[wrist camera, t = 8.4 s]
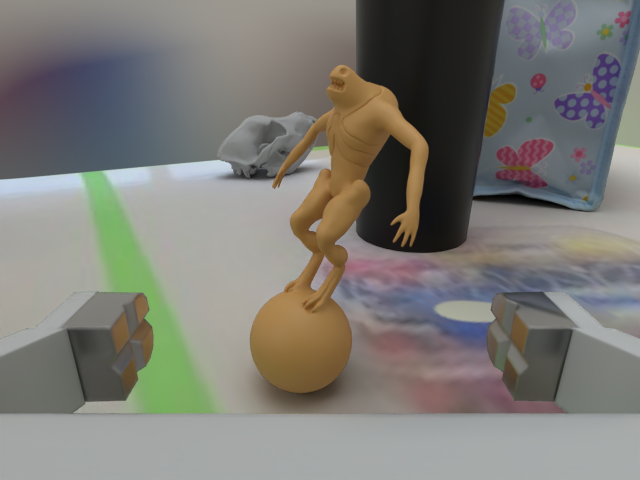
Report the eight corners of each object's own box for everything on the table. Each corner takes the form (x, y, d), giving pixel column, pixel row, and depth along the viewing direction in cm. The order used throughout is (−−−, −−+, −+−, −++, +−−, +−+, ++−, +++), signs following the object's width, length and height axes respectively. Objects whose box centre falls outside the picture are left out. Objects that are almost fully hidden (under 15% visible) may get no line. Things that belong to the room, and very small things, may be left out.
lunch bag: (640, 220, 36) (755, -187, 27) (435, 200, 42) (469, -142, 32) (590, 167, 56) (647, -79, 46) (455, 158, 62) (480, -63, 52)
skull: (204, 150, 53) (268, 79, 54) (256, 197, 58) (313, 130, 59) (220, 156, 46) (292, 75, 48) (277, 208, 51) (341, 132, 52)
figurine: (219, 346, 20) (189, 65, 16) (327, 309, 23) (328, 66, 19) (315, 478, 13) (311, 61, 9) (448, 402, 17) (493, 63, 12)
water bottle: (508, 247, 31) (577, -163, 22) (375, 264, 28) (396, -193, 20) (434, 207, 40) (464, -96, 31) (329, 217, 37) (330, -110, 29)
